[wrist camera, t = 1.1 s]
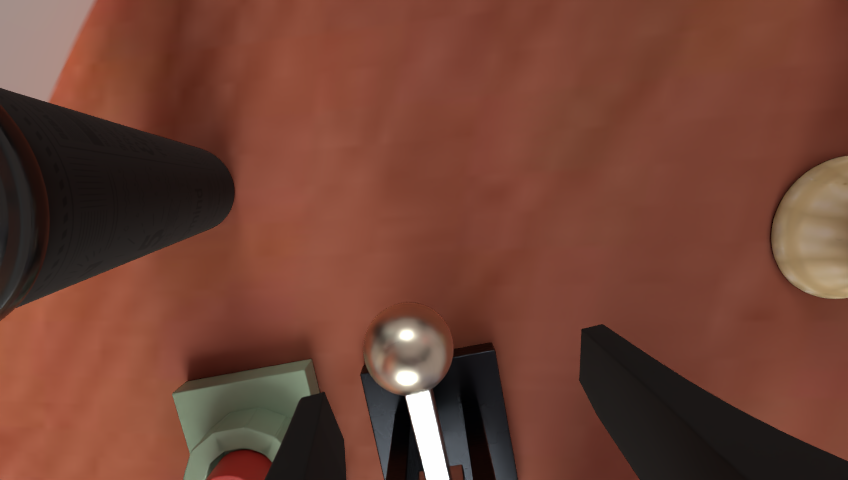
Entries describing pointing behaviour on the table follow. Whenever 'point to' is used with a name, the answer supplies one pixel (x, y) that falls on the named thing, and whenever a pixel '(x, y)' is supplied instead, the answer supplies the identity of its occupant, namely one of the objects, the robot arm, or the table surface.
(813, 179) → the hand bell
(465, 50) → the table surface
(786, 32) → the table surface
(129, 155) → the drinking cup
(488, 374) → the black lever mount
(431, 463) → the tap lever
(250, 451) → the button
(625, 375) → the robot arm
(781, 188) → the table surface
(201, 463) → the button box
